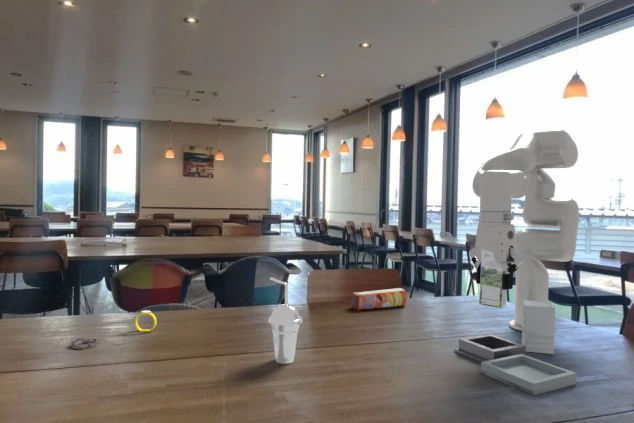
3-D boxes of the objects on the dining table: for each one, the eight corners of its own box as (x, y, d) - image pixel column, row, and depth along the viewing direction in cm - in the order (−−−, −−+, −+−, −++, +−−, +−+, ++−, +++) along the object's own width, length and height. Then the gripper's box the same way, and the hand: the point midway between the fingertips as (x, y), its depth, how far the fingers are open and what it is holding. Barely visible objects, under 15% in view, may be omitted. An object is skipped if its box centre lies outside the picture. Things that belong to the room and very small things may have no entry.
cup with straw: (275, 368, 108) (276, 283, 107) (261, 356, 116) (262, 277, 115) (307, 363, 112) (309, 281, 111) (292, 352, 120) (293, 275, 119)
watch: (156, 330, 138) (158, 311, 138) (153, 333, 135) (155, 313, 135) (136, 329, 138) (138, 309, 137) (133, 331, 135) (134, 311, 135)
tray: (521, 363, 114) (521, 353, 114) (575, 384, 102) (576, 373, 102) (480, 372, 108) (481, 362, 107) (533, 395, 95) (534, 383, 95)
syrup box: (506, 304, 121) (509, 249, 120) (501, 308, 116) (504, 251, 115) (484, 301, 124) (486, 247, 124) (478, 305, 119) (481, 248, 119)
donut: (99, 351, 119) (99, 343, 119) (65, 355, 116) (65, 347, 116) (100, 341, 127) (99, 334, 127) (68, 345, 124) (67, 337, 124)
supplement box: (550, 346, 128) (551, 301, 128) (554, 355, 121) (555, 307, 121) (521, 343, 131) (522, 299, 130) (523, 351, 124) (525, 304, 123)
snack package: (358, 312, 166) (358, 293, 165) (349, 307, 172) (349, 289, 171) (407, 307, 174) (408, 289, 174) (397, 303, 180) (398, 286, 180)
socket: (489, 345, 129) (489, 332, 128) (529, 359, 117) (530, 346, 117) (454, 351, 122) (454, 338, 122) (493, 367, 111) (494, 353, 111)
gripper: (534, 219, 113) (533, 291, 114) (479, 216, 128) (478, 279, 129) (513, 220, 110) (512, 294, 110) (459, 217, 125) (458, 281, 126)
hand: (494, 285), depth 120 cm, fingers closed on syrup box, 7 cm apart
